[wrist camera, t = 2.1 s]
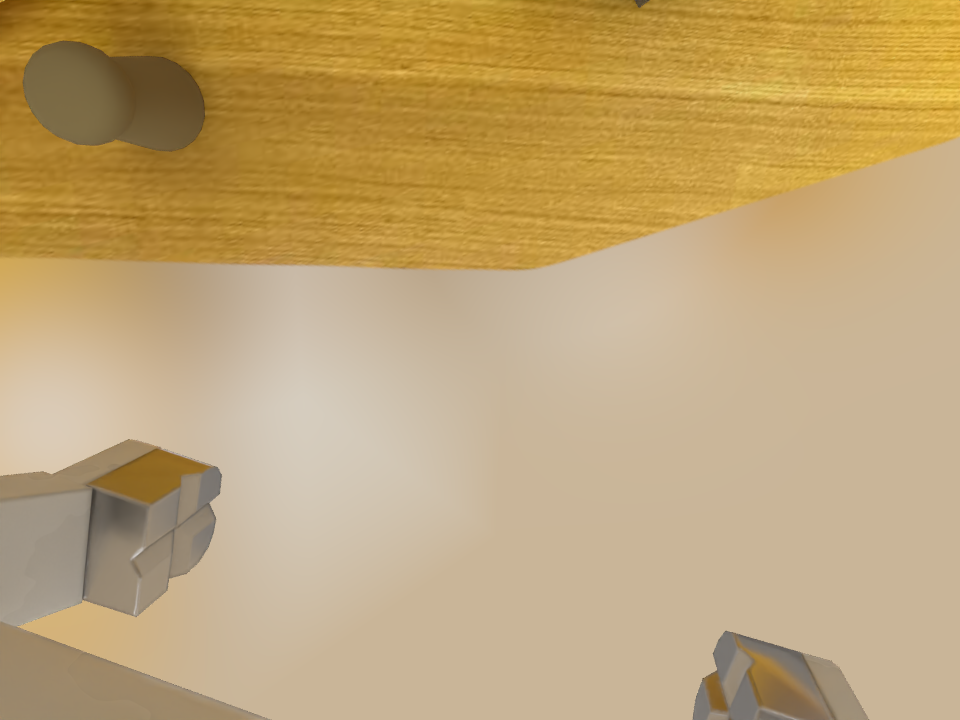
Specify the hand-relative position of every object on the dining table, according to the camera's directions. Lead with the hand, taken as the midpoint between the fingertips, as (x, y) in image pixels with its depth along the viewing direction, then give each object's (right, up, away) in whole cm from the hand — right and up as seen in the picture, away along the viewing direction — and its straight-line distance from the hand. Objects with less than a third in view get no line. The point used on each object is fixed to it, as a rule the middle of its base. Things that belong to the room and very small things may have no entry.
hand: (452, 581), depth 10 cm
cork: (-21, +21, +33) cm, 44 cm away
